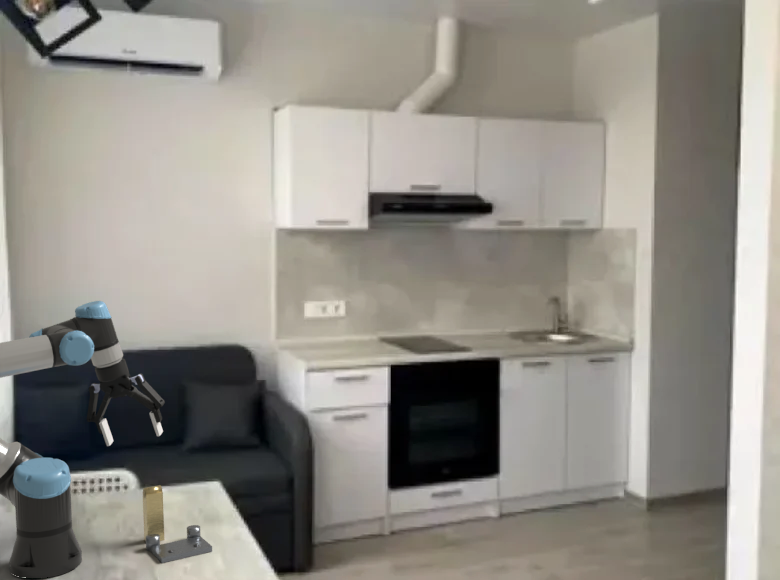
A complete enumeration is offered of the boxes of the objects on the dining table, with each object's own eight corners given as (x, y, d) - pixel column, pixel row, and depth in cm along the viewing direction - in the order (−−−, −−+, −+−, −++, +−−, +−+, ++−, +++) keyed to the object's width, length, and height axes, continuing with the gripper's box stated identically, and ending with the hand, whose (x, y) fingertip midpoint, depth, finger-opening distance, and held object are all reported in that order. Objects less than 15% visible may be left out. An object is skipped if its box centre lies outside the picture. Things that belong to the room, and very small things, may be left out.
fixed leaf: (159, 563, 192) (158, 550, 192) (144, 547, 201) (143, 535, 201) (214, 550, 199) (214, 538, 199) (197, 536, 209) (197, 524, 208)
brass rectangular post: (148, 543, 204) (146, 489, 203) (144, 539, 207) (142, 486, 206) (164, 539, 206) (162, 486, 205) (160, 536, 209) (158, 483, 208)
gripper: (161, 347, 213) (185, 423, 218) (69, 366, 217) (95, 441, 222) (150, 357, 206) (176, 436, 211) (56, 377, 209) (83, 454, 214)
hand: (135, 439), depth 216 cm, fingers open, 13 cm apart
